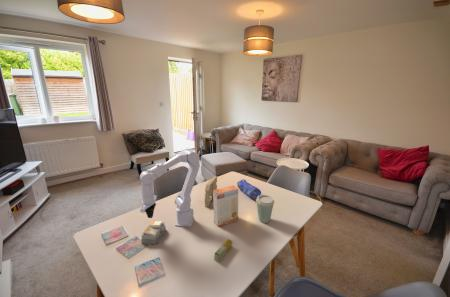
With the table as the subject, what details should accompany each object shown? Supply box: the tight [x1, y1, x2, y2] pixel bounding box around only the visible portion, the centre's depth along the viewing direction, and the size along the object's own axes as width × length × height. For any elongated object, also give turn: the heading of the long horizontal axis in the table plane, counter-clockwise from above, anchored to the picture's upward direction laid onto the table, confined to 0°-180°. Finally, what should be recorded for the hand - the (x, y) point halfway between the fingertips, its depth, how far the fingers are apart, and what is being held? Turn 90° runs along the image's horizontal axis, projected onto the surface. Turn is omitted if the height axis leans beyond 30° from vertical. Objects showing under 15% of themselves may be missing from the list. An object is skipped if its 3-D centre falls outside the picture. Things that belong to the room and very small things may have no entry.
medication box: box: [213, 238, 233, 263], centre depth 96 cm, size 12×3×4 cm, turn 148°
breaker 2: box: [143, 225, 158, 235], centre depth 104 cm, size 6×3×2 cm, turn 84°
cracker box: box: [212, 185, 239, 227], centre depth 119 cm, size 14×6×21 cm, turn 119°
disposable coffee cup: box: [255, 193, 275, 224], centre depth 120 cm, size 11×11×15 cm
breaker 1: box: [148, 220, 163, 228], centre depth 110 cm, size 6×3×2 cm, turn 85°
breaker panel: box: [140, 221, 166, 245], centre depth 107 cm, size 8×12×5 cm, turn 174°
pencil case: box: [236, 179, 262, 201], centre depth 154 cm, size 22×9×10 cm, turn 27°
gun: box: [204, 175, 218, 208], centre depth 146 cm, size 24×3×15 cm, turn 168°
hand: (150, 217), depth 107 cm, fingers closed
